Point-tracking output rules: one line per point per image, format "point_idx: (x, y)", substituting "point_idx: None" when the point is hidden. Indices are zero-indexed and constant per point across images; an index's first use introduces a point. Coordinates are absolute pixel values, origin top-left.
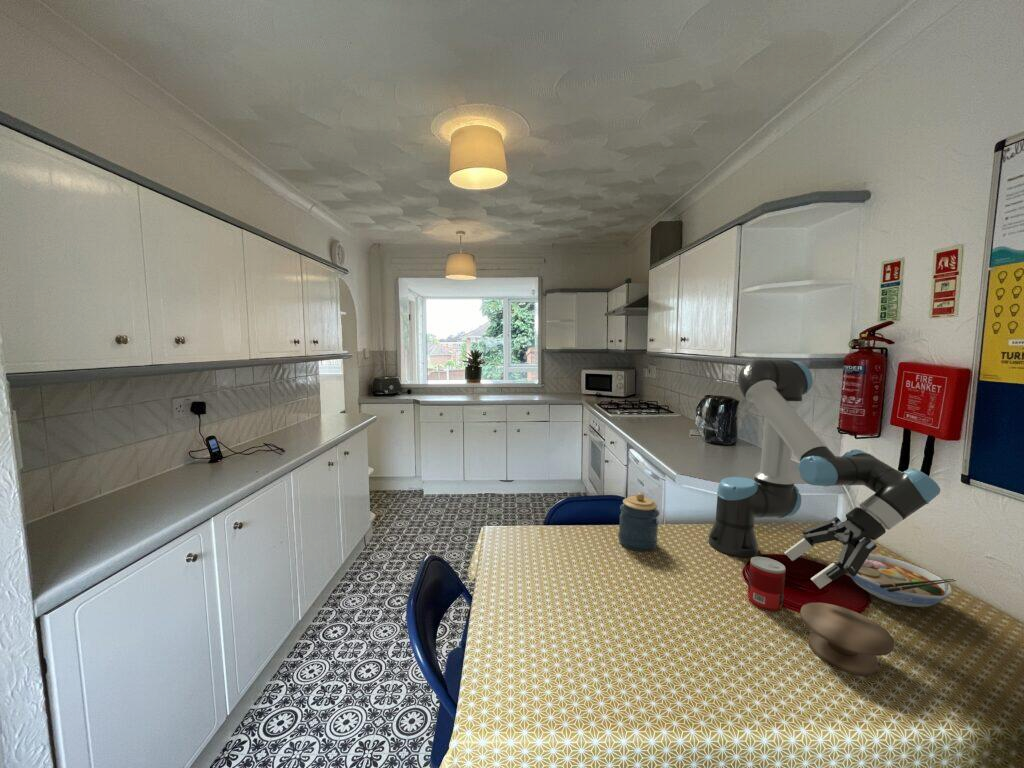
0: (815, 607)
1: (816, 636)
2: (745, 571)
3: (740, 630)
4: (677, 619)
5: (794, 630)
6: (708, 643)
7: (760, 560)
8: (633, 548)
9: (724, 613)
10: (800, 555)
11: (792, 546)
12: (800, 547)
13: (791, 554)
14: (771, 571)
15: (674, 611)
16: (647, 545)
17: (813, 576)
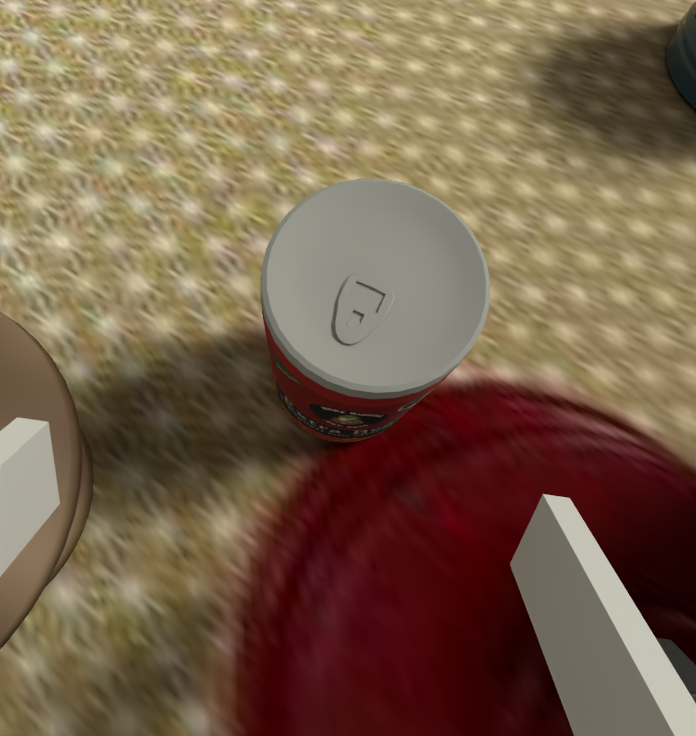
0: None
1: None
2: (628, 438)
3: (147, 175)
4: (212, 16)
5: (139, 388)
6: (82, 48)
7: (440, 267)
8: (671, 38)
9: (254, 172)
10: (543, 653)
11: (620, 586)
12: (604, 677)
13: (543, 555)
14: (268, 244)
15: (257, 25)
16: (694, 59)
17: (26, 444)
